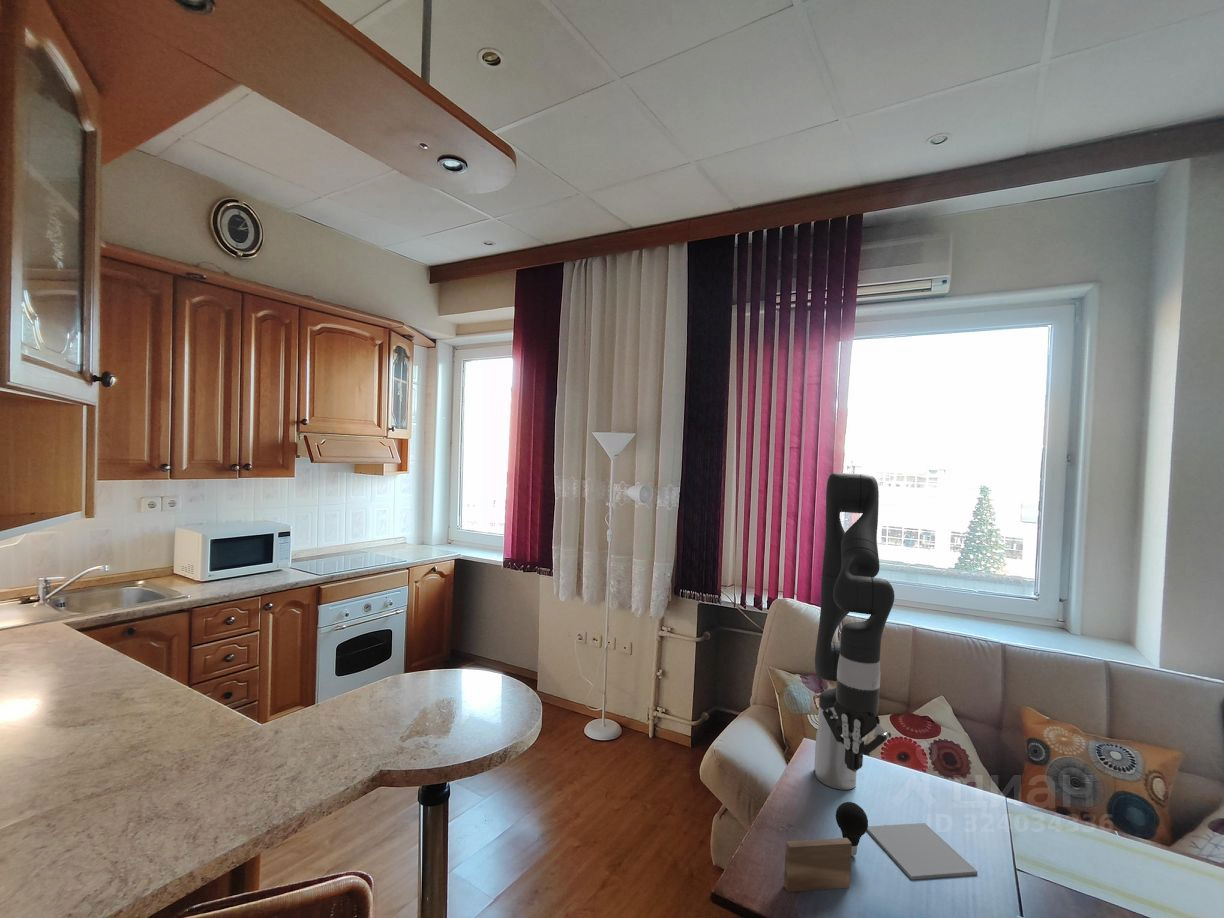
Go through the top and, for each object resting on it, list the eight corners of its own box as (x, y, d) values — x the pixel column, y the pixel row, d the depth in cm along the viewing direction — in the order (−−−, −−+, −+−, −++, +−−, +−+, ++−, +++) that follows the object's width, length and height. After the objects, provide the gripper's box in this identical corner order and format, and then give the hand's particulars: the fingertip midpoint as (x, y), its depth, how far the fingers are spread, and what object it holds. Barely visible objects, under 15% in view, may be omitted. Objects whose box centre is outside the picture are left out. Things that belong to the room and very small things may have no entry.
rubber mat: (865, 829, 117) (865, 826, 117) (924, 825, 119) (924, 823, 119) (911, 879, 103) (911, 876, 103) (977, 874, 105) (977, 871, 105)
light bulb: (863, 848, 111) (866, 799, 111) (868, 869, 105) (871, 816, 105) (832, 842, 112) (834, 792, 112) (835, 861, 106) (838, 810, 106)
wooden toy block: (783, 885, 100) (786, 841, 100) (844, 881, 102) (847, 837, 102) (787, 892, 98) (789, 847, 98) (849, 887, 100) (851, 843, 100)
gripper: (902, 688, 103) (897, 779, 103) (835, 664, 113) (831, 747, 114) (883, 698, 98) (878, 793, 99) (816, 672, 109) (811, 758, 109)
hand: (852, 768), depth 106 cm, fingers closed
